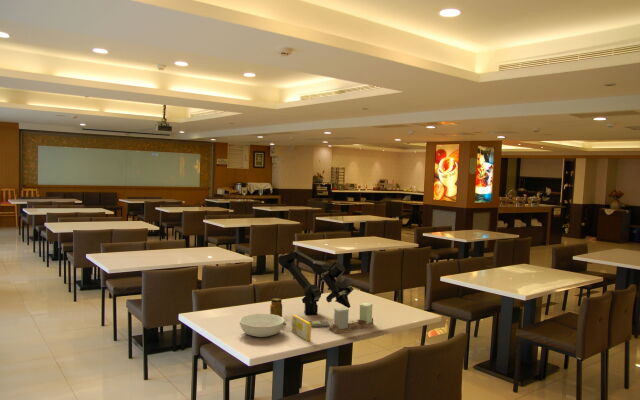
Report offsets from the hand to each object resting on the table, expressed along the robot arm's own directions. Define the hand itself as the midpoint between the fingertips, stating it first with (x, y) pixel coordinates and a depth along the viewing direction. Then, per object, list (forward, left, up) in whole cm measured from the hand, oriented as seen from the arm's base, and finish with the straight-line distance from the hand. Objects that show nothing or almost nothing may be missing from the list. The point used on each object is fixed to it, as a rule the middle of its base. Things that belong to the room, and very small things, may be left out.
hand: (349, 307), depth 250 cm
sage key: (+7, -7, -6) cm, 11 cm away
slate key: (-7, -14, -6) cm, 17 cm away
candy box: (-28, -18, -8) cm, 34 cm away
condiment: (-37, +4, -8) cm, 38 cm away
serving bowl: (-46, -13, -8) cm, 48 cm away
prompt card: (-17, -3, -8) cm, 19 cm away
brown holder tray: (-1, -9, -8) cm, 12 cm away
